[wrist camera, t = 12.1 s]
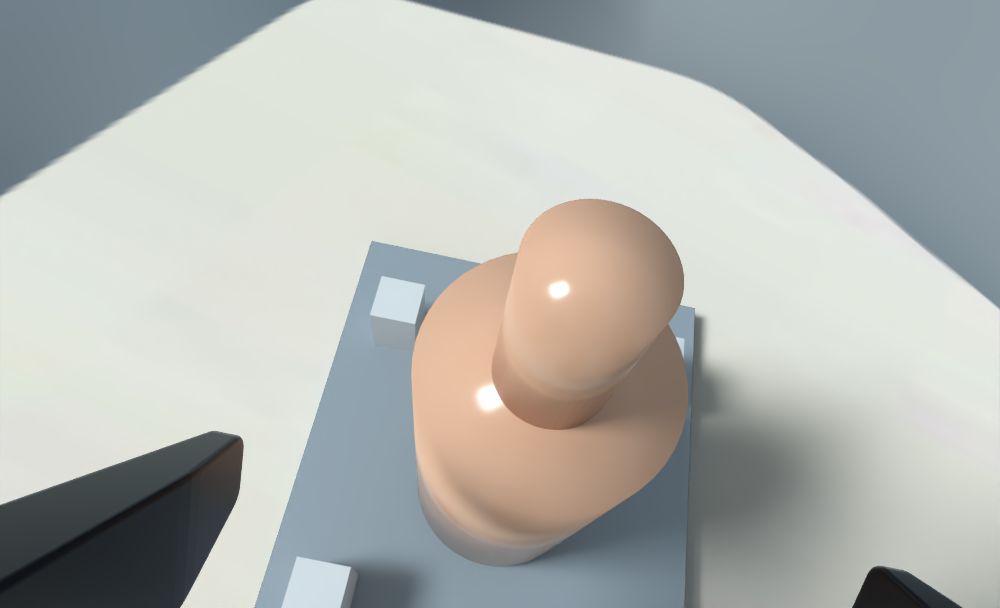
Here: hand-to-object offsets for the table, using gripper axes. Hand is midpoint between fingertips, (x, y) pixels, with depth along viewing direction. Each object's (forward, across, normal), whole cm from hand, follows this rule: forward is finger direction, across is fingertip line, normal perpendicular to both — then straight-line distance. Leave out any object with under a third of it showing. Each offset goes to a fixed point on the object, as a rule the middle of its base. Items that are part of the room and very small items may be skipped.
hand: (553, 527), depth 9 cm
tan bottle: (+11, 0, +6) cm, 13 cm away
